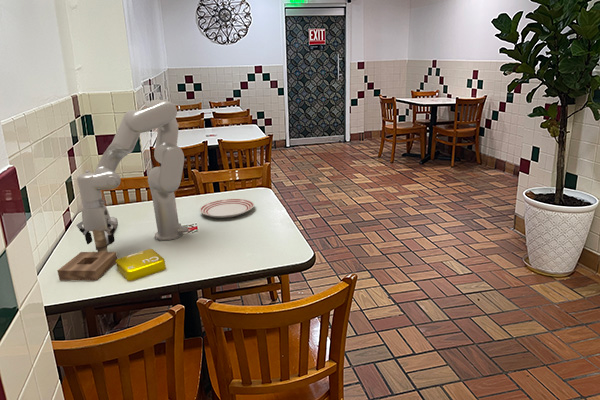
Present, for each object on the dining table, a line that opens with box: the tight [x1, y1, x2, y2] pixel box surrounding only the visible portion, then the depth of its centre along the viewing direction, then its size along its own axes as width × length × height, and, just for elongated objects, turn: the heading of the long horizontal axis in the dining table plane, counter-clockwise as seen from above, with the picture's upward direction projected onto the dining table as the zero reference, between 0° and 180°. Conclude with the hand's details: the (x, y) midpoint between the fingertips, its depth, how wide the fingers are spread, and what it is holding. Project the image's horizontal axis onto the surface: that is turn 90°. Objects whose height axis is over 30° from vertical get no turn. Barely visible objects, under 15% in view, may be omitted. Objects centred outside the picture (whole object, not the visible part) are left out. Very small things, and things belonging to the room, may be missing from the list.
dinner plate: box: [199, 198, 255, 219], centre depth 236 cm, size 27×27×3 cm
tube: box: [104, 216, 119, 245], centre depth 214 cm, size 5×5×25 cm
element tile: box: [115, 248, 167, 282], centre depth 180 cm, size 15×15×5 cm
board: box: [57, 251, 118, 281], centre depth 181 cm, size 15×16×4 cm
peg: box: [92, 230, 109, 252], centre depth 193 cm, size 4×4×12 cm
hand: (100, 242), depth 193 cm, fingers open, 9 cm apart
